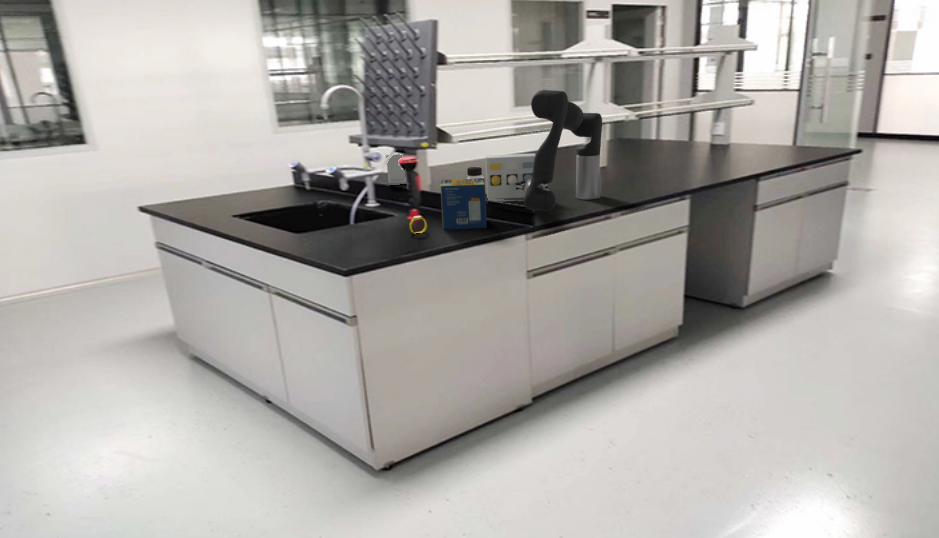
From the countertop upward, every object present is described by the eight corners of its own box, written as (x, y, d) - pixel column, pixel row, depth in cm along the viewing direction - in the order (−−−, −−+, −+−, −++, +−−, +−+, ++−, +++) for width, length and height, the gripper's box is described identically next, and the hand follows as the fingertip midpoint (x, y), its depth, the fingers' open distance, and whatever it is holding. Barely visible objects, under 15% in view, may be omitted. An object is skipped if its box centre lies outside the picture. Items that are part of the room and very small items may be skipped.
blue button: (531, 181, 248) (531, 172, 247) (533, 183, 244) (533, 174, 243) (522, 181, 248) (522, 172, 247) (524, 183, 244) (524, 174, 243)
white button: (516, 183, 246) (516, 174, 245) (517, 185, 242) (517, 176, 241) (507, 183, 246) (507, 174, 245) (508, 185, 242) (508, 176, 241)
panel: (535, 197, 253) (535, 153, 247) (537, 200, 247) (537, 155, 241) (487, 199, 253) (485, 155, 247) (487, 203, 247) (486, 158, 241)
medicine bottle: (482, 197, 258) (481, 168, 254) (465, 197, 259) (464, 168, 255) (485, 193, 264) (484, 165, 260) (468, 193, 266) (467, 165, 262)
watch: (412, 236, 207) (410, 219, 205) (409, 234, 210) (407, 217, 208) (428, 232, 210) (426, 215, 208) (425, 230, 212) (423, 214, 210)
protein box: (443, 222, 222) (441, 179, 217) (486, 220, 222) (484, 177, 217) (442, 230, 212) (439, 185, 207) (487, 228, 212) (485, 183, 207)
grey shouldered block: (405, 182, 293) (403, 151, 288) (407, 185, 288) (404, 153, 283) (388, 184, 292) (385, 153, 287) (389, 186, 286) (386, 154, 281)
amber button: (499, 182, 248) (499, 173, 247) (500, 185, 244) (500, 176, 243) (490, 183, 248) (490, 174, 247) (491, 185, 244) (491, 176, 243)
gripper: (552, 179, 223) (546, 170, 239) (516, 180, 223) (512, 172, 239) (552, 199, 225) (546, 189, 241) (516, 201, 225) (512, 191, 241)
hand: (529, 180), depth 240 cm, fingers closed
